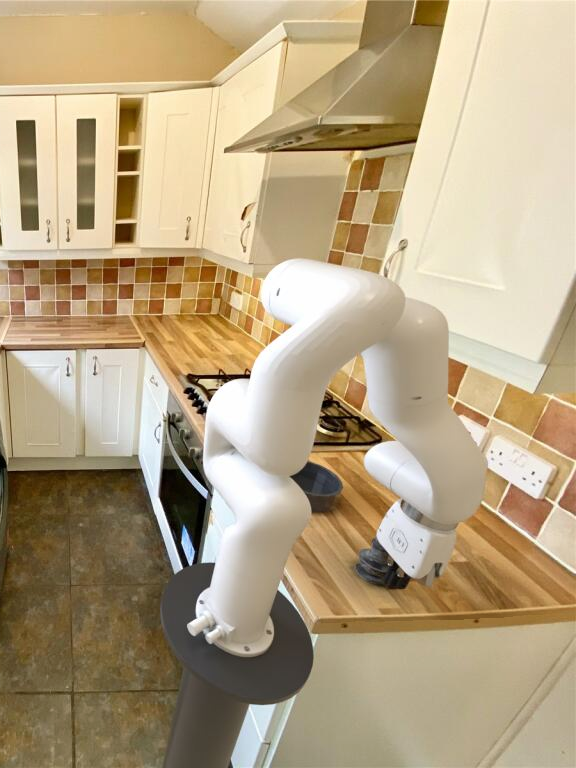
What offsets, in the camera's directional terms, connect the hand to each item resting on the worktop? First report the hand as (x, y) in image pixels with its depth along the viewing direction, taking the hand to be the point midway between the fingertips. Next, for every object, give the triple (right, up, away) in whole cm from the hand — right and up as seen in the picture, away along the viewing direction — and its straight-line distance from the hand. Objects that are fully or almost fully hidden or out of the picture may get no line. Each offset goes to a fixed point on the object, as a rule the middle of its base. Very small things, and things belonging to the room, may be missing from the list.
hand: (393, 585), depth 77 cm
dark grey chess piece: (-1, 0, +5) cm, 5 cm away
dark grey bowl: (-1, +10, +27) cm, 29 cm away
